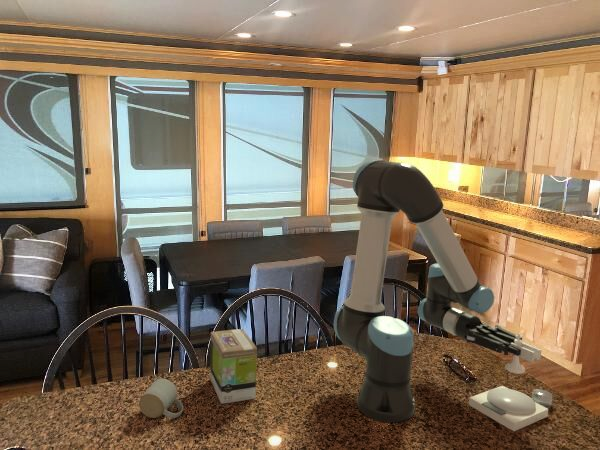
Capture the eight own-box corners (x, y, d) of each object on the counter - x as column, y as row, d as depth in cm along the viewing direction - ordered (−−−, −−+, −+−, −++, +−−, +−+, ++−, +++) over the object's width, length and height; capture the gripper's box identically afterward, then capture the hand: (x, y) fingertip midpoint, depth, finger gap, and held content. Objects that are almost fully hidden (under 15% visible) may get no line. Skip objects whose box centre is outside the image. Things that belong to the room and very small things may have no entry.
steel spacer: (544, 410, 135) (545, 399, 135) (527, 401, 139) (528, 391, 139) (554, 405, 138) (556, 395, 137) (538, 397, 142) (539, 387, 141)
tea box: (257, 399, 135) (258, 347, 133) (220, 405, 132) (220, 352, 129) (242, 373, 149) (243, 327, 146) (209, 378, 145) (209, 330, 143)
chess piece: (528, 374, 130) (532, 337, 128) (509, 373, 130) (513, 337, 128) (520, 365, 135) (524, 330, 133) (501, 364, 135) (505, 329, 133)
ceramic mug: (137, 418, 124) (136, 390, 123) (152, 401, 132) (152, 375, 131) (175, 424, 123) (175, 396, 121) (188, 407, 130) (188, 381, 129)
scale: (513, 431, 124) (515, 420, 124) (468, 404, 136) (469, 394, 136) (547, 416, 132) (548, 406, 131) (501, 392, 143) (502, 382, 143)
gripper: (478, 332, 151) (552, 363, 131) (443, 341, 143) (516, 376, 123) (481, 308, 150) (556, 336, 130) (445, 316, 142) (519, 348, 122)
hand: (536, 356), depth 127 cm, fingers closed on chess piece, 2 cm apart
